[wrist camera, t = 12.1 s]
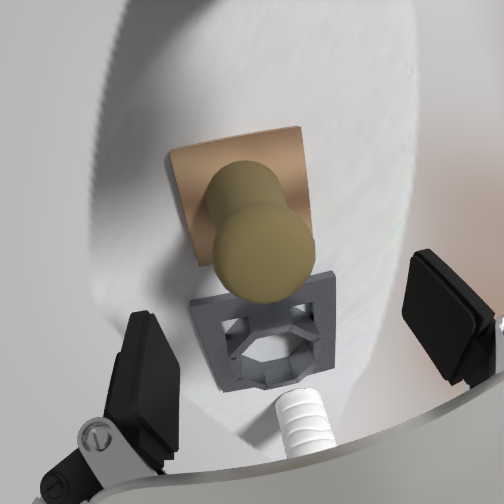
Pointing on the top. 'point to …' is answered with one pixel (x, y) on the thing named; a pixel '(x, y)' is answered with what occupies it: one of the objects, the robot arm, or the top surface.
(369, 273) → the top surface
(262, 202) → the cork
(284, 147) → the coaster board
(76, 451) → the robot arm
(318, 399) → the water bottle
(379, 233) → the top surface
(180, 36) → the top surface
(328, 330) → the grey octagonal holder
